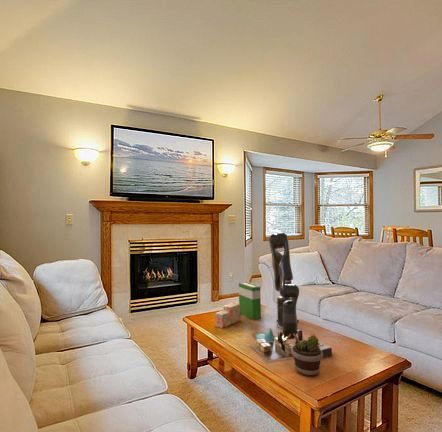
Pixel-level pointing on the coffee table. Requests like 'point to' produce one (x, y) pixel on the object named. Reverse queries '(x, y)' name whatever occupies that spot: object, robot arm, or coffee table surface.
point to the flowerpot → (307, 356)
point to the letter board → (271, 349)
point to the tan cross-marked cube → (288, 348)
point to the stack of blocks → (228, 315)
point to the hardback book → (250, 300)
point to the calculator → (324, 349)
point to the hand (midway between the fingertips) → (290, 349)
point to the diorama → (266, 336)
